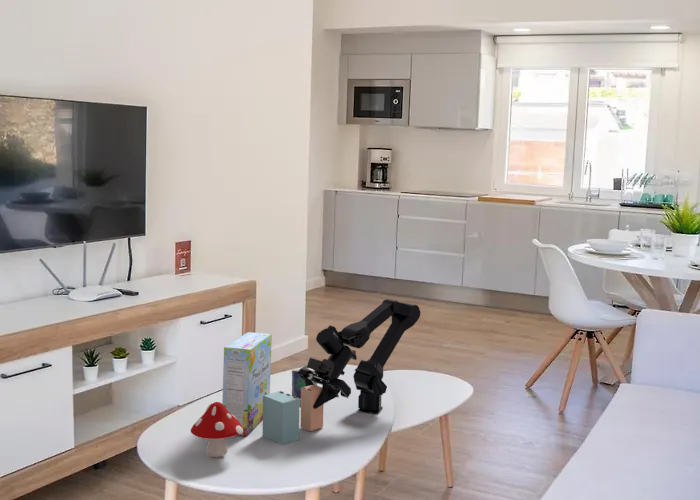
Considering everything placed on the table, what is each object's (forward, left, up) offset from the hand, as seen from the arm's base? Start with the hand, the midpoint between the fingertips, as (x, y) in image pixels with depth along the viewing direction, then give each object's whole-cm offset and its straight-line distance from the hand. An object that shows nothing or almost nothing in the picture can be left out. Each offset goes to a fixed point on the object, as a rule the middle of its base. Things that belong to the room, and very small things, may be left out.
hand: (308, 406), depth 240 cm
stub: (-1, -1, -7) cm, 7 cm away
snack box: (+19, +1, -7) cm, 20 cm away
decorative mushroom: (+17, +27, -7) cm, 33 cm away
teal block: (+5, +9, -7) cm, 13 cm away
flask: (+11, -29, -7) cm, 32 cm away
